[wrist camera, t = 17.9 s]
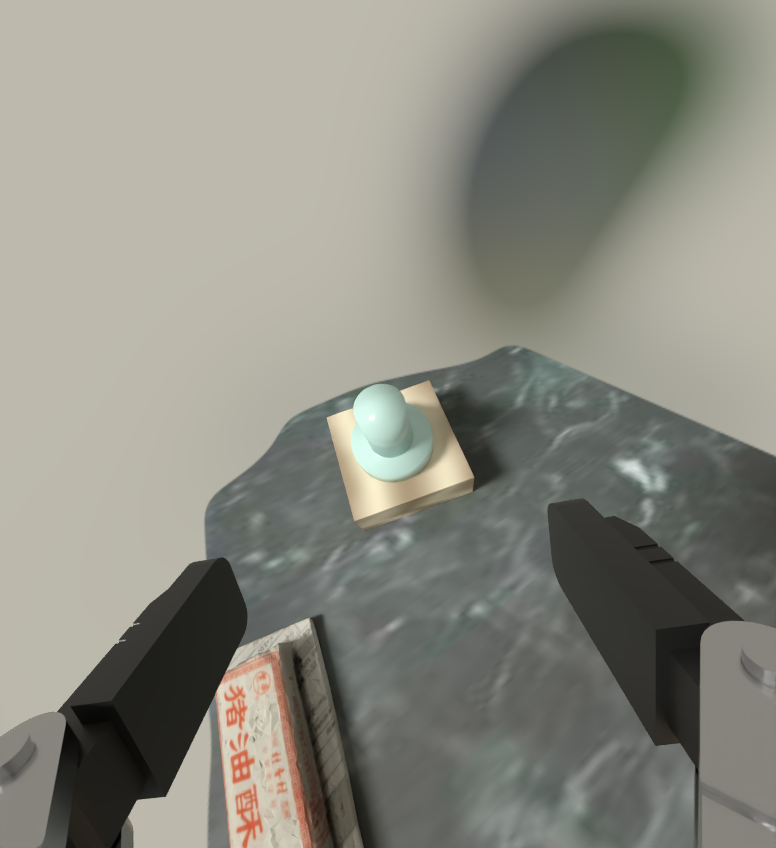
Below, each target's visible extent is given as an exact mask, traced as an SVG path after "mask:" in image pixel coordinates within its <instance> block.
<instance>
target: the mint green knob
mask: <svg viewBox="0 0 776 848" xmlns="http://www.w3.org/2000/svg"><path fill="white" fill-rule="evenodd" d="M353 412H354V416H355V419H356V421H357V422H356V424H355V426H354V428H353V431H352V435H351V448H352V452H353V454H354V456H355V458H356V460H357V461H358V463H359V464H360V466H361V467H362V469H363V470H364V471H365V472H366V473H367V474H368V475H370V476H371V477H373V478H374V479H376V480H379V481H383V482H389V483H396V482H402V481H405V480H408V479H410V478H412V477H414V476H416V475H417V474H418V473H420V472H421V471H422V470H423V469H424V468H425V466H426V465H427V464H428V462H429V460H430V458H431V456H432V452H433V436H432V429H431V425H430V423H429V421H428V419H427V417H426V416H425V414H424V413H423V412H422V411H421V410H419V409H418V408H417V407H415V406H413V405H411V404H409V403H406V402H405V398H404V396H403V394H402V393H401V392H400V391H399V390H398V389H397V388H396V387H394V386H391V385H388V384H377V385H373V386H370V387H368V388H366V389H365V390H363V391H362V392H361V393H360V394H359V395H358V397H357V398H356V400H355V403H354V407H353Z"/></svg>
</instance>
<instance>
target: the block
mask: <svg viewBox="0 0 776 848" xmlns="http://www.w3.org/2000/svg"><path fill="white" fill-rule="evenodd" d="M400 392H401V393H402V394H403V396H404V398H405V402H406V403H409V404H411V405H413V406H415V407H417V408H418V409H419V410H421V411H422V412H423V413H424V414H425V416H426V417H427V419H428V421H429V423H430V425H431V429H432V436H433V452H432V456H431V458H430V460H429V462H428V464H427V465H426V466H425V468H424V469H423V470H422V471H421V472H420V473H418V474H417V475H416V476H414V477H412V478H410V479H408V480H405V481H402V482H396V483H389V482H383V481H379V480H376V479H374V478H373V477H371V476H370V475H368V474H367V473H366V472H365V471H364V470H363V469H362V467H361V466H360V464H359V463H358V461H357V460H356V458H355V456H354V454H353V452H352V448H351V435H352V431H353V428H354V426H355V424H356V422H357V421H356V419H355V416H354V412H353V408H352V409H349V410H346V411H344V412H341V413H338V414H335V415H333V416H330V417H327V421H328V424H329V428H330V432H331V435H332V439H333V443H334V447H335V450H336V454H337V458H338V462H339V465H340V469H341V473H342V476H343V480H344V484H345V488H346V491H347V495H348V499H349V503H350V506H351V510H352V514H353V517H354V521H355V522H356V523H357V524H358V525H359V526H360V527H361V528H362V529H364V530H365V531H367V530H369V529H372V528H375V527H378V526H380V525H383V524H386V523H388V522H391V521H394V520H397V519H399V518H402V517H405V516H408V515H410V514H413V513H416V512H419V511H421V510H424V509H427V508H429V507H432V506H435V505H438V504H440V503H443V502H446V501H449V500H451V499H454V498H457V497H460V496H462V495H465V494H468V493H471V492H473V484H474V475H473V473H472V471H471V469H470V467H469V465H468V463H467V460H466V458H465V456H464V454H463V452H462V450H461V448H460V446H459V443H458V441H457V439H456V437H455V435H454V433H453V431H452V428H451V426H450V424H449V422H448V420H447V418H446V416H445V413H444V411H443V409H442V407H441V405H440V403H439V401H438V398H437V396H436V394H435V392H434V390H433V388H432V386H431V383H430V381H426V382H423V383H420V384H418V385H415V386H412V387H409V388H407V389H404V390H401V391H400Z"/></svg>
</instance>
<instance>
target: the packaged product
mask: <svg viewBox="0 0 776 848" xmlns="http://www.w3.org/2000/svg"><path fill="white" fill-rule="evenodd" d="M216 703H217V714H218V723H219V737H220V746H221V755H222V765H223V776H224V787H225V797H226V808H227V819H228V831H229V841H230V848H364V847H363V842H362V838H361V833H360V829H359V825H358V821H357V816H356V810H355V805H354V800H353V794H352V789H351V783H350V778H349V773H348V768H347V764H346V759H345V755H344V750H343V745H342V741H341V736H340V731H339V726H338V721H337V716H336V712H335V707H334V703H333V698H332V694H331V690H330V685H329V681H328V677H327V673H326V669H325V665H324V661H323V657H322V653H321V649H320V645H319V641H318V637H317V633H316V629H315V626H314V623H313V620H312V619H310V618H307V619H305V620H302V621H300V622H297V623H295V624H293V625H291V626H288V627H286V628H284V629H281V630H279V631H277V632H275V633H272V634H270V635H267V636H264V637H262V638H260V639H257V640H255V641H253V642H250V643H248V644H246V645H244V646H241V647H239V648H237V650H236V652H235V654H234V656H233V658H232V660H231V662H230V664H229V666H228V669H227V671H226V673H225V675H224V677H223V679H222V681H221V683H220V685H219V687H218V689H217V691H216Z"/></svg>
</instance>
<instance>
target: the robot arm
mask: <svg viewBox="0 0 776 848" xmlns="http://www.w3.org/2000/svg"><path fill="white" fill-rule="evenodd" d="M548 522H549V533H550V543H551V554H552V562H553V567H554V571H555V574H556V577H557V580H558V582H559V584H560V586H561V588H562V590H563V592H564V593H565V595H566V597H567V598H568V600H569V602H570V603H571V605H572V607H573V608H574V610H575V612H576V613H577V615H578V617H579V618H580V620H581V622H582V623H583V625H584V627H585V628H586V630H587V632H588V633H589V635H590V637H591V639H592V640H593V642H594V644H595V645H596V647H597V649H598V650H599V652H600V654H601V655H602V657H603V659H604V660H605V662H606V664H607V665H608V667H609V669H610V670H611V672H612V674H613V675H614V677H615V679H616V680H617V682H618V684H619V685H620V687H621V689H622V690H623V692H624V694H625V695H626V697H627V699H628V700H629V702H630V704H631V706H632V707H633V709H634V711H635V712H636V714H637V716H638V717H639V719H640V721H641V722H642V724H643V726H644V727H645V729H646V731H647V732H648V734H649V736H650V737H651V739H652V741H653V742H654V744H655V746H658V745H667V744H676V743H681V745H682V746H683V748H684V749H685V751H686V753H687V754H688V756H689V757H690V759H691V760H692V762H693V763H694V765H695V775H694V848H776V628H773V627H769V626H766V625H762V624H757V623H753V622H745V621H744V620H743V619H742V618H741V617H740V616H739V615H737V614H736V613H735V612H734V611H733V610H732V609H731V608H730V607H728V606H727V605H726V604H725V603H724V602H723V601H722V600H720V599H719V598H718V597H717V596H716V595H715V594H714V593H713V592H711V591H710V590H709V589H708V588H707V587H706V586H705V585H703V584H702V583H701V582H700V581H699V580H698V579H697V578H696V577H694V576H693V575H692V574H691V573H690V572H689V571H688V570H687V569H685V568H684V567H683V566H682V565H681V564H680V563H679V562H675V561H674V559H673V557H672V556H671V555H670V554H668V553H667V552H666V551H665V550H664V549H663V548H662V547H658V545H657V543H656V542H655V541H654V540H653V539H651V538H650V537H649V536H648V535H647V534H646V533H645V532H644V531H642V530H641V529H640V528H639V527H637V526H635V525H632V524H630V523H628V522H626V521H624V520H622V519H620V518H618V517H616V516H612V517H606V518H604V517H603V516H602V515H601V514H600V513H599V512H598V511H597V510H596V509H595V508H594V507H593V506H592V505H591V504H590V503H589V502H588V501H586V500H585V499H583V498H581V499H575V500H569V501H563V502H557V503H551V504H549V505H548ZM246 626H247V608H246V604H245V602H244V599H243V597H242V594H241V591H240V589H239V586H238V584H237V581H236V579H235V576H234V573H233V571H232V568H231V566H230V564H229V562H228V561H227V560H226V559H225V558H216V559H210V560H204V561H198V562H193V563H191V564H189V565H188V566H187V568H186V569H185V570H184V571H183V572H182V573H181V575H180V576H179V577H178V578H177V579H176V581H175V582H174V583H173V584H172V585H171V587H170V588H169V589H168V590H166V591H165V592H164V593H163V594H161V595H160V596H159V597H158V598H157V599H155V600H154V601H153V602H151V603H150V604H149V605H148V607H147V608H146V609H145V610H144V611H143V612H142V613H141V615H140V616H139V617H138V618H137V619H136V621H135V622H134V625H133V627H130V628H129V629H128V630H127V631H126V632H125V633H124V634H123V636H122V637H121V638H120V639H119V643H118V644H115V645H114V646H113V647H112V648H111V650H110V651H109V652H108V653H107V654H106V655H105V657H104V658H103V659H102V660H101V661H100V662H99V664H98V665H97V666H96V667H95V668H94V670H93V671H92V672H91V673H90V674H89V675H88V676H87V678H86V679H85V680H84V681H83V682H82V684H81V685H80V686H79V687H78V688H77V689H76V690H75V692H74V693H73V694H72V695H71V696H70V698H69V699H68V700H67V701H66V702H65V703H64V704H63V706H62V707H61V708H60V709H59V710H58V711H57V712H49V713H44V714H41V715H38V716H36V717H33V718H31V719H29V720H27V721H25V722H23V723H21V724H19V725H18V726H16V727H14V728H13V729H11V730H10V731H8V732H7V733H5V734H4V735H2V736H1V737H0V848H133V826H132V824H131V822H130V820H129V818H128V815H129V814H130V812H131V810H132V808H133V806H134V804H135V802H136V801H137V800H139V799H148V798H158V797H166V795H167V793H168V791H169V789H170V787H171V785H172V782H173V781H174V779H175V777H176V774H177V772H178V770H179V768H180V766H181V764H182V762H183V759H184V758H185V756H186V753H187V751H188V750H189V747H190V745H191V743H192V741H193V739H194V737H195V735H196V733H197V731H198V729H199V727H200V724H201V722H202V720H203V718H204V716H205V714H206V712H207V710H208V708H209V706H210V704H211V702H212V700H213V698H214V696H215V693H216V691H217V689H218V687H219V685H220V683H221V681H222V679H223V677H224V675H225V673H226V671H227V669H228V666H229V664H230V662H231V660H232V658H233V656H234V654H235V652H236V650H237V648H238V646H239V644H240V642H241V639H242V637H243V635H244V633H245V630H246Z"/></svg>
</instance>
